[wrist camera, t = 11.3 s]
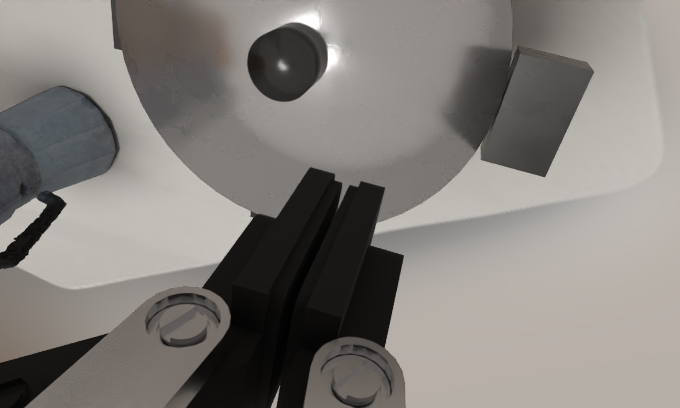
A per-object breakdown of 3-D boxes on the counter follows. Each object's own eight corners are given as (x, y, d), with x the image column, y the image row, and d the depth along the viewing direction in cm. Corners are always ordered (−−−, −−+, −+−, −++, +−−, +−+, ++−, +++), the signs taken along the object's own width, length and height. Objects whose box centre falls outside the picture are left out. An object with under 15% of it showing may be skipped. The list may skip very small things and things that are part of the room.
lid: (138, 167, 30) (100, 194, 27) (117, -238, 20) (52, -268, 17) (491, 272, 27) (493, 315, 24) (675, -135, 17) (716, -147, 14)
